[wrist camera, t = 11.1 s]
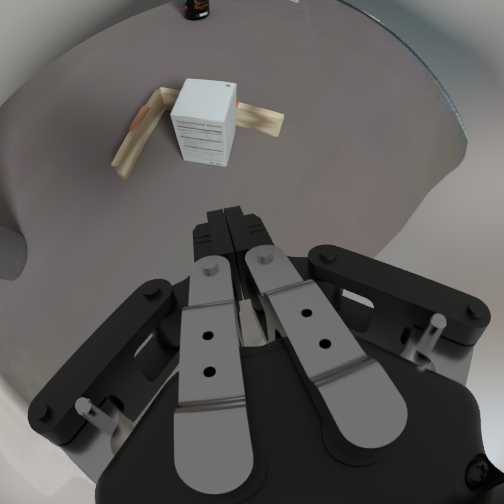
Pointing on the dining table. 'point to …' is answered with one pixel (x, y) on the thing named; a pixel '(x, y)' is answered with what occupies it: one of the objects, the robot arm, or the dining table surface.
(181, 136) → the supplement box
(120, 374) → the robot arm
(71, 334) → the dining table surface
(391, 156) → the dining table surface
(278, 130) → the wooden corner bracket
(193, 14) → the supplement container
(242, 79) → the dining table surface
